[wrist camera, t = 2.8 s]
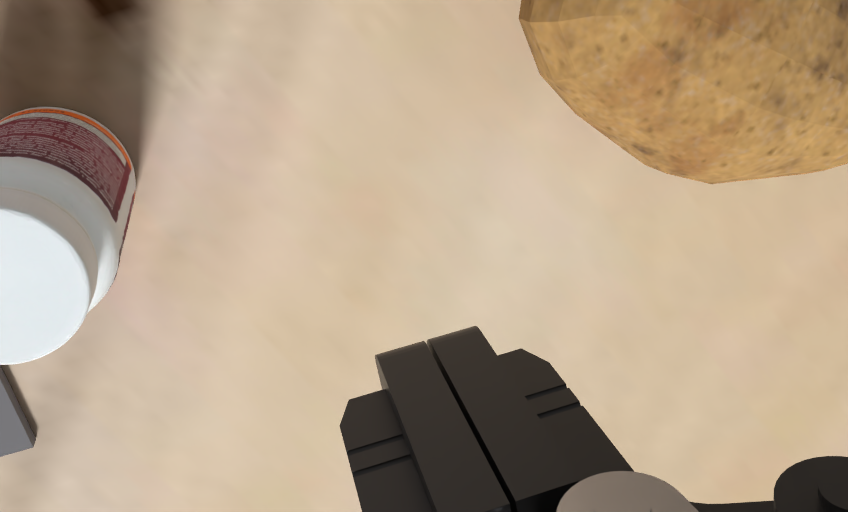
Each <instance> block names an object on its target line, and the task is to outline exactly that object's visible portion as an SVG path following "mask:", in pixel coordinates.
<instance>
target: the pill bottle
mask: <svg viewBox="0 0 848 512" xmlns="http://www.w3.org/2000/svg"><path fill="white" fill-rule="evenodd" d="M135 193H136V180H135V173H134V167H133V165H132V162H131V159H130V157H129V155H128V153H127V151H126V149H125V148H124V146H123V145H122V143H121V142H120V141H119V140H118V138H117V137H116V136H115V135H114V134H113V133H112V132H111V131H110V130H109V129H108V128H106V127H105V126H104V125H102V124H101V123H99V122H98V121H96V120H95V119H93V118H91V117H89V116H87V115H85V114H82V113H79V112H76V111H73V110H70V109H65V108H59V107H35V108H28V109H25V110H21V111H18V112H15V113H13V114H11V115H8V116H6V117H5V118H3V119H1V120H0V365H9V364H18V363H24V362H29V361H32V360H35V359H38V358H40V357H43V356H45V355H47V354H49V353H51V352H53V351H54V350H56V349H58V348H59V347H60V346H62V345H63V344H64V343H65V342H67V341H68V340H69V339H70V338H71V337H72V336H73V335H74V334H75V333H76V331H77V330H78V329H79V327H80V326H81V324H82V323H83V321H84V319H85V317H86V315H87V312H89V311H90V310H91V309H92V308H93V307H94V306H96V305H97V303H98V302H99V301H100V300H101V299H102V298H103V297H104V296H105V295H106V293H107V292H108V290H109V289H110V287H111V285H112V283H113V282H114V280H115V277H116V274H117V270H118V266H119V262H120V256H121V252H122V248H123V244H124V240H125V236H126V232H127V229H128V224H129V219H130V216H131V211H132V208H133V204H134V198H135Z"/></svg>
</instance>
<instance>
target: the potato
mask: <svg viewBox="0 0 848 512" xmlns="http://www.w3.org/2000/svg"><path fill="white" fill-rule="evenodd" d="M519 20H520V23H521V26H522V28H523V31H524V33H525V36H526V39H527V41H528V44H529V47H530V49H531V52H532V54H533V57H534V60H535V62H536V65H537V68H538V70H539V73H540V75H541V76H542V77H543V78H544V79H545V80H546V82H547V83H548V84H549V85H550V86H551V87H552V88H553V89H554V90H555V92H556V93H557V94H558V95H559V96H560V97H561V98H562V99H563V100H564V102H565V103H566V104H567V105H568V106H569V107H570V108H571V109H572V110H573V111H574V113H575V114H577V115H578V116H579V117H581V118H582V119H583V120H585V121H586V122H587V123H589V124H590V125H591V126H593V127H594V128H596V129H597V130H598V131H600V132H601V133H602V134H604V135H605V136H606V137H608V138H609V139H610V140H612V141H613V142H614V143H616V144H617V145H618V146H620V147H621V148H622V149H624V150H625V151H627V152H628V153H629V154H631V155H632V156H634V157H635V158H636V159H638V160H639V161H641V162H642V163H643V164H645V165H647V166H649V167H652V168H654V169H657V170H659V171H662V172H664V173H667V174H671V175H675V176H679V177H684V178H688V179H692V180H696V181H701V182H705V183H709V184H716V183H725V182H734V181H744V180H753V179H762V178H771V177H780V176H789V175H798V174H807V173H813V172H818V171H823V170H827V169H830V168H834V167H837V166H840V165H844V164H847V163H848V0H521V7H520V14H519Z"/></svg>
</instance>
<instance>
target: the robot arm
mask: <svg viewBox="0 0 848 512" xmlns="http://www.w3.org/2000/svg"><path fill="white" fill-rule="evenodd" d="M375 359H376V365H377V369H378V373H379V378H380V382H381V386H382V390H380V391H377V392H374V393H370V394H367V395H363V396H360V397H357V398H353V399H350V400H349V401H348V404H347V407H346V409H345V412H344V415H343V418H342V421H341V424H340V429H341V432H342V436H343V440H344V444H345V448H346V451H347V455H348V459H349V463H350V467H351V470H352V474H353V478H354V482H355V486H356V489H357V493H358V497H359V501H360V505H361V508H362V512H848V457H842V456H825V457H816V458H812V459H807V460H804V461H801V462H799V463H796V464H794V465H793V466H791V467H789V468H788V469H787V470H785V471H784V472H783V473H782V474H781V475H780V477H779V478H778V480H777V481H776V485H775V488H774V501H761V502H745V503H729V504H703V503H694V502H689V501H688V500H687V499H686V498H685V497H684V496H683V495H682V494H681V493H680V492H679V491H678V490H676V489H675V488H674V487H673V486H671V485H670V484H668V483H667V482H665V481H663V480H661V479H659V478H656V477H654V476H651V475H647V474H644V473H638V472H634V471H633V469H632V468H631V467H630V465H629V464H628V463H627V462H626V460H625V459H624V458H623V456H622V455H621V454H620V453H619V451H618V450H617V449H616V447H615V446H614V445H613V444H612V442H611V441H610V440H609V439H608V437H607V436H606V435H605V433H604V432H603V431H602V430H601V428H600V427H599V426H598V424H597V423H596V422H595V421H594V419H593V418H592V417H591V415H590V414H589V413H588V412H587V410H586V409H585V408H584V407H583V406H581V405H580V402H579V400H578V399H577V398H576V396H575V395H574V394H573V392H572V391H571V390H570V389H569V388H567V387H566V383H565V382H564V381H563V380H562V378H561V377H560V376H559V375H558V373H557V372H556V371H555V369H554V368H553V367H552V366H551V364H550V363H549V362H547V361H545V360H543V359H541V358H539V357H537V356H535V355H533V354H531V353H529V352H527V351H525V350H523V349H518V350H515V351H511V352H508V353H504V354H501V355H498V356H497V355H496V353H495V352H494V350H493V349H492V347H491V346H490V344H489V343H488V341H487V340H486V338H485V337H484V335H483V334H482V332H481V331H480V329H479V328H478V327H477V326H473V327H470V328H466V329H463V330H460V331H456V332H453V333H449V334H446V335H442V336H439V337H435V338H432V339H428V340H427V344H426V343H425V341H422V342H419V343H415V344H412V345H408V346H405V347H401V348H398V349H394V350H391V351H388V352H384V353H381V354H377V355H375Z"/></svg>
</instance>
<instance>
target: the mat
mask: <svg viewBox="0 0 848 512" xmlns="http://www.w3.org/2000/svg"><path fill="white" fill-rule="evenodd" d="M35 441H36V438H35V436H34V434H33V432H32V430H31V428H30V426H29V423H28V421H27V419H26V417H25V415H24V413H23V411H22V409H21V407H20V405H19V403H18V401H17V399H16V396H15V394H14V392H13V390H12V388H11V386H10V384H9V382H8V380H7V378H6V376H5V374H4V372H3V370H2V367H1V365H0V457H1V456H5V455H8V454H12V453H15V452H19V451H22V450H26V449H29V448H33V447H34V444H35Z"/></svg>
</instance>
